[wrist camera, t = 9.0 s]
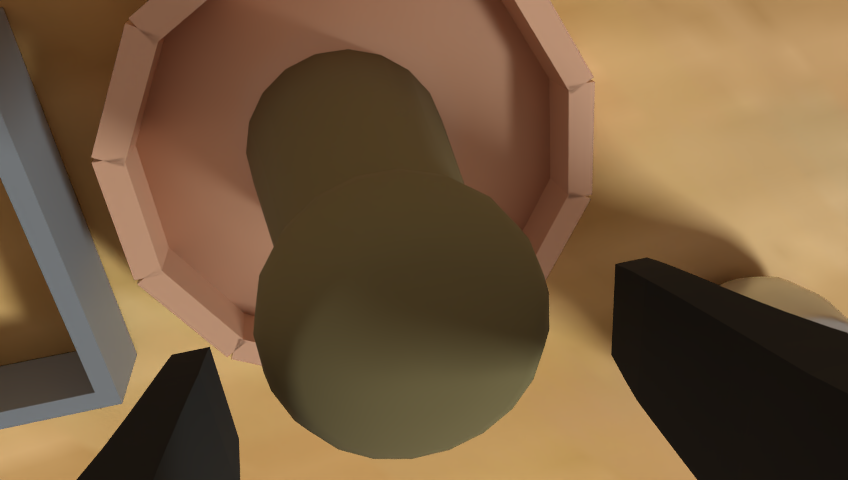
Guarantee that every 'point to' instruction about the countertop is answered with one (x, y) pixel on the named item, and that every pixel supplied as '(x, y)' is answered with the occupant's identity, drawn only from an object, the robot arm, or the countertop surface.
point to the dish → (257, 69)
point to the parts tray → (56, 265)
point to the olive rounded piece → (384, 266)
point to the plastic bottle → (789, 299)
